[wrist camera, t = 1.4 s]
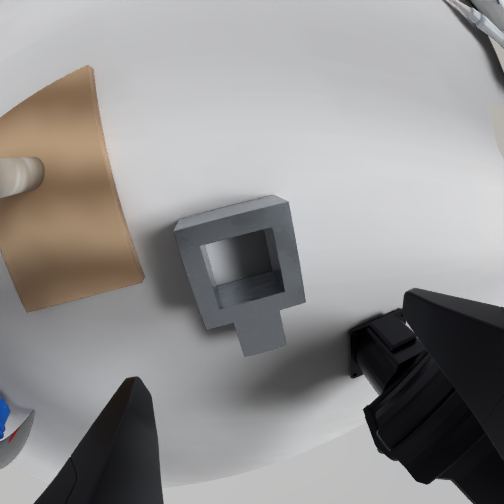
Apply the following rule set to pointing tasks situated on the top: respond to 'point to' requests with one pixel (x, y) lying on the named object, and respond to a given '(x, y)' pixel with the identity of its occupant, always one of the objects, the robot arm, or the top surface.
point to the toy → (486, 17)
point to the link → (249, 289)
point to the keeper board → (61, 198)
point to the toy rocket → (12, 436)
